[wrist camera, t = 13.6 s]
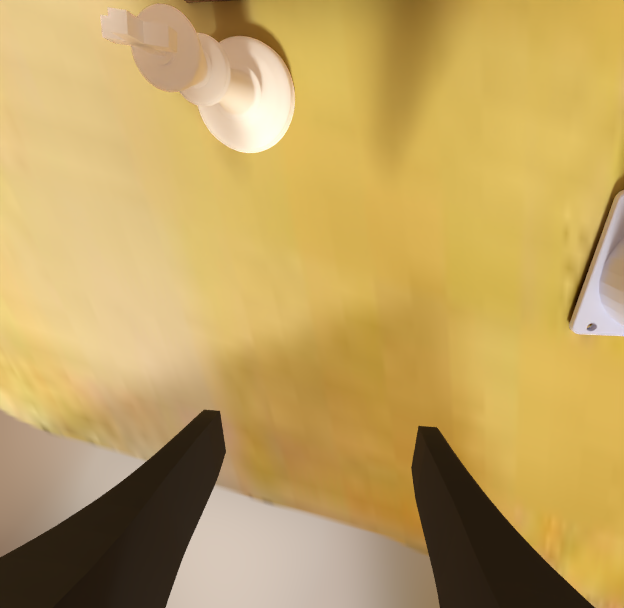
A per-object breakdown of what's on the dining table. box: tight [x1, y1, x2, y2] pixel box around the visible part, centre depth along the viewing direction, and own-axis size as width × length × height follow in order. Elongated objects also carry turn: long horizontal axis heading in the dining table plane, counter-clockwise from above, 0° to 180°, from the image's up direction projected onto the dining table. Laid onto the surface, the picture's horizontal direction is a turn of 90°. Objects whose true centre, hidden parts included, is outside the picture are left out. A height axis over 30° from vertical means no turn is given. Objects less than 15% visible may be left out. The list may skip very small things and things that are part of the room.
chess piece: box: [100, 4, 295, 153], centre depth 12 cm, size 5×5×10 cm
